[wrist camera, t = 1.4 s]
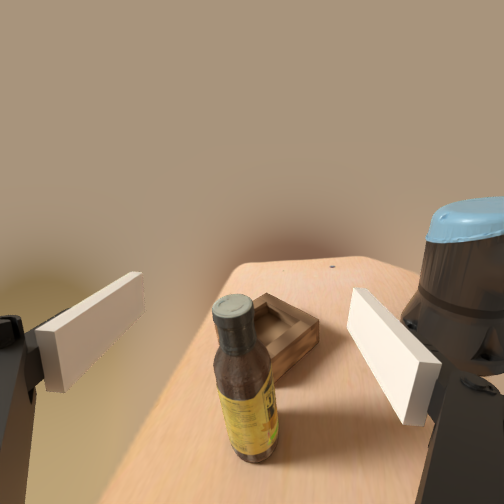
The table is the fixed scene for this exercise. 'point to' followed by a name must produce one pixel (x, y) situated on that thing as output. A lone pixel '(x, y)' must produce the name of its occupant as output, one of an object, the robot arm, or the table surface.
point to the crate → (283, 332)
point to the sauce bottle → (244, 380)
